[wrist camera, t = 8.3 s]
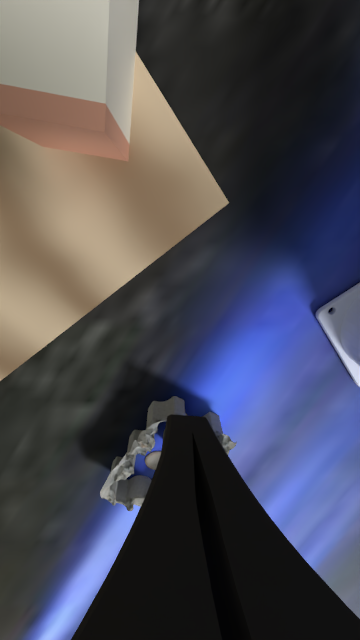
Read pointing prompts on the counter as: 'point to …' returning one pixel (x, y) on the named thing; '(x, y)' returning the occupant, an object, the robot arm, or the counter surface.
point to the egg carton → (141, 442)
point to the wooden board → (91, 220)
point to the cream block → (69, 73)
